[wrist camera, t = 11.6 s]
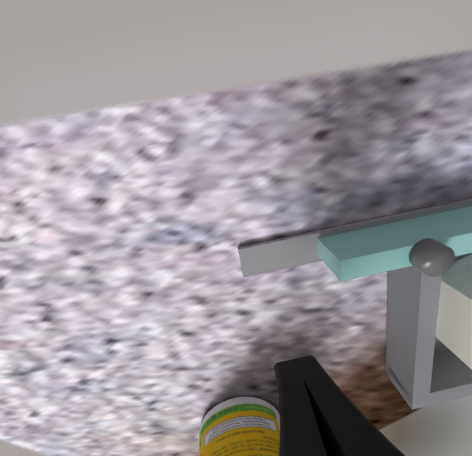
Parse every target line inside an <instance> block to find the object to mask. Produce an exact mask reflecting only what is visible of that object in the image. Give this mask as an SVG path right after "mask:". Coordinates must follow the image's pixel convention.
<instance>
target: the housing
mask: <svg viewBox="0 0 472 456" xmlns="http://www.w3.org/2000/svg"><path fill="white" fill-rule="evenodd" d="M470 206H472V198H470V199H465V200H460V201H456V202H451V203H446V204H441V205H436V206H432V207H427V208H422V209H417V210H413V211H408V212H403V213H398V214H394V215H389V216H384V217H379V218H374V219H370V220H365V221H360V222H355V223H351V224H346V225H341V226H336V227H332V228H327V229H322V230H317V231H312V232H308V233H303V234H298V235H293V236H289V237H284V238H279V239H274V240H270V241H265V242H260V243H255V244H250V245H246V246H241V247H238V251H239V256H240V261H241V267H242V272H243V276H244V277H248V276H252V275H257V274H262V273H266V272H271V271H276V270H280V269H285V268H290V267H294V266H299V265H304V264H308V263H313V262H318V261H322V259H321V258H320V257H319V252H318V240H317V239H318V238H322V237H327V236H332V235H337V234H341V233H346V232H351V231H356V230H360V229H365V228H370V227H375V226H379V225H384V224H389V223H394V222H398V221H403V220H408V219H413V218H417V217H422V216H427V215H432V214H436V213H441V212H446V211H451V210H455V209H460V208H465V207H470ZM470 270H472V253H469V254H464V255H459V256H455V260H454V263H453V265H452V267H451V268H450V269H449V270H448V271H447V272H446V273H444V274H442V275H440V276H437V277H430V276H427V275H426V274H424V273H423V272H421V271H420V270H418V269H417V268H415V267H414V266H409V267H404V268H400V269H395V270H390V271H388V283H387V332H386V375H387V376H388V377H389V379H390V380H391V381H392V383H393V384H394V386H395V387H396V388H397V390H398V391H399V392H400V394H401V395H402V396H403V398H404V399H405V401H406V402H407V403H408V405H409V406H410V407H411V409H416V408H420V407H425V406H429V405H433V404H437V403H441V402H445V401H450V400H454V399H458V398H462V397H466V396H470V395H472V370H471V369H470V368H469V367H468V366H467V365H466V364H465V363H464V362H463V361H462V360H461V359H459V358H458V357H457V356H456V355H455V354H454V353H453V352H452V351H451V350H450V349H448V348H447V347H446V346H445V345H444V344H443V343H442V342H441V341H440V340H439V339H438V338H436V327H437V317H438V307H439V297H440V287H441V277H444V276H448V275H452V274H457V273H461V272H466V271H470Z"/></svg>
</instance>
